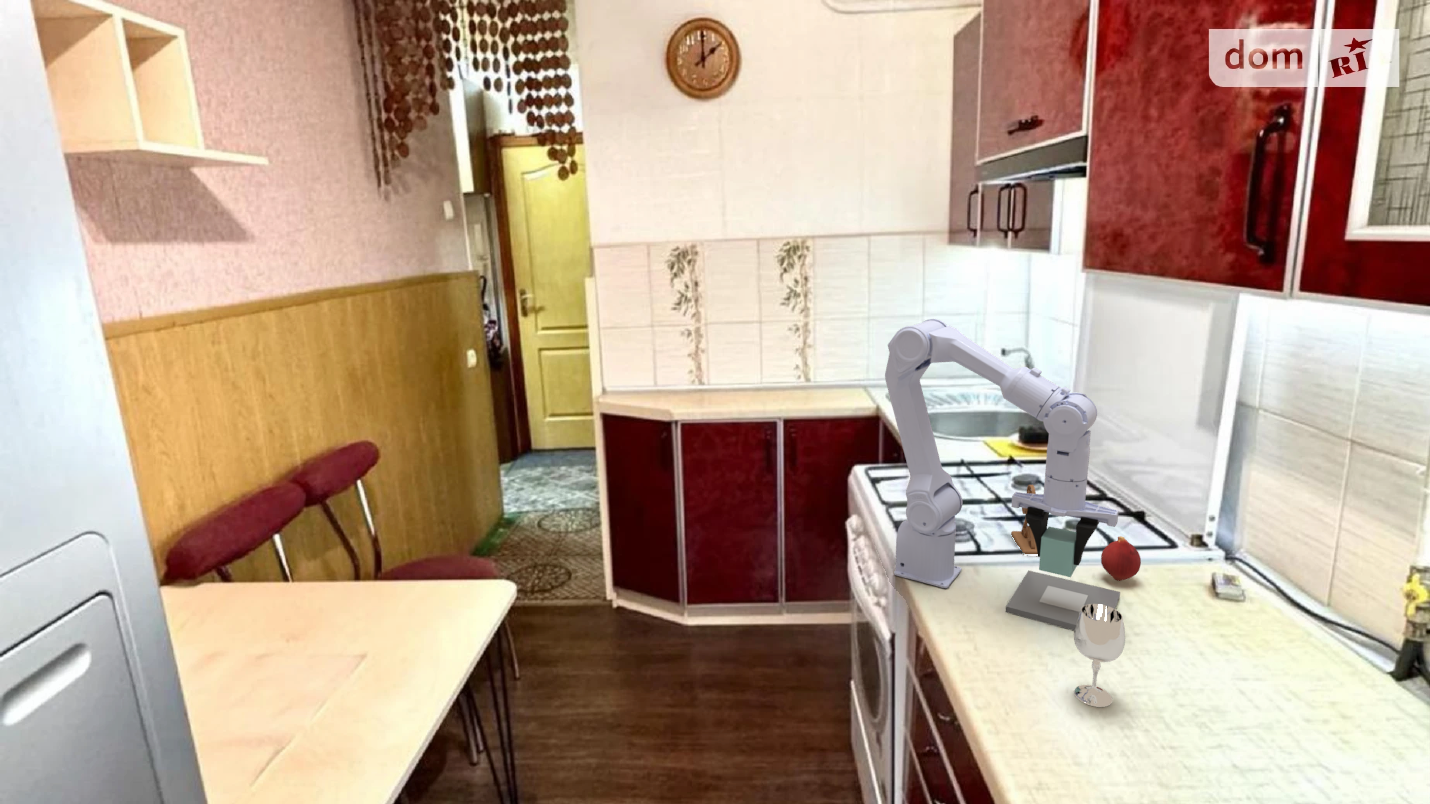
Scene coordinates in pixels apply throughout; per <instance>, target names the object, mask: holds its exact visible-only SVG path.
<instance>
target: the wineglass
mask: <svg viewBox="0 0 1430 804" xmlns="http://www.w3.org/2000/svg"><path fill="white" fill-rule="evenodd" d="M1125 630H1126V629H1125V625H1124V618H1123V615H1122V613H1121V612H1120V611H1119V610H1117V608H1116V609H1114V608H1112V607H1109V606H1106V605H1101V604H1087V605H1084V606H1083V607H1082V608H1081V610H1080V612H1079V615H1078V617H1077V620H1076V624H1075V628H1074V630H1073V641H1074V645H1075V648H1076V649H1077V650H1078V652H1079V653H1080V654H1081V655H1083V657H1085V658H1087V659H1089V660H1091V661H1092V662H1091V669H1092V683H1091V684H1081V685H1078V686H1076V687H1075V688H1074V690H1073V692H1074V693H1073V695H1074V696H1075V697H1076V699H1077V700H1078V701H1080V702H1081V703H1083V704H1086V705H1088V706H1090V707H1095V708H1105V707H1109V706H1110V705H1112V703H1113V698H1112V695H1111V694H1110V693H1109V692H1108V691H1107V690H1105V689H1103V688H1101V687H1098V686H1097V681H1098V680H1097V679H1098V674H1099V671H1100V670H1101V663H1109V662H1114V661H1115V660H1117V659H1118V658H1120V656H1121V655H1122V653H1123V652H1124V650H1125V644H1126V631H1125Z"/></svg>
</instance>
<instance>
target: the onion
mask: <svg viewBox="0 0 1430 804" xmlns="http://www.w3.org/2000/svg"><path fill="white" fill-rule="evenodd" d="M1141 559H1142V558H1141V555H1140V553H1139V551H1138V550H1137V548H1136V547H1135V546H1134V545H1133V544H1131V543H1130V542H1129V541H1128V540H1127V539H1126V538H1125V536H1121V535H1120V536H1118V537H1117V540H1114V541H1112V542H1110V543H1109V544H1108V545H1106V546H1105V548H1104V549H1103V550H1102V552H1101V554H1100V561H1101V562H1100V563H1101V566H1102V568H1103V569H1104V570H1105V571H1106V572H1107V574H1109V575H1110V577H1111V578H1113V580H1115V581H1117V582H1123V581H1126V580H1129V579H1131V578H1132V577H1134V576H1135V575H1137V574H1138V573H1139V571H1140V569H1141V564H1142V563H1141V562H1142V560H1141Z"/></svg>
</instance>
